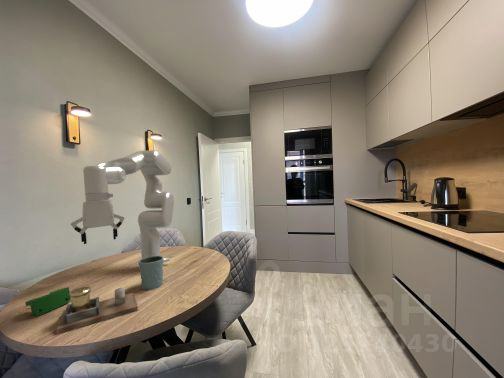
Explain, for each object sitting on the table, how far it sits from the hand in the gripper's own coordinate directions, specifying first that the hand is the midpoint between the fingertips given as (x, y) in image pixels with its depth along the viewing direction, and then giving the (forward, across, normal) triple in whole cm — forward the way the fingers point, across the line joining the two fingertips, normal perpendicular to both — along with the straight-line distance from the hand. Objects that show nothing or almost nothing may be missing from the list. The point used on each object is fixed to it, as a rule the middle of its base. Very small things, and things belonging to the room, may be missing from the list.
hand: (100, 241), depth 89 cm
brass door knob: (+22, +7, +11) cm, 25 cm away
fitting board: (+23, +1, +11) cm, 26 cm away
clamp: (+24, +18, -5) cm, 30 cm away
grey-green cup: (+24, -18, -2) cm, 30 cm away
